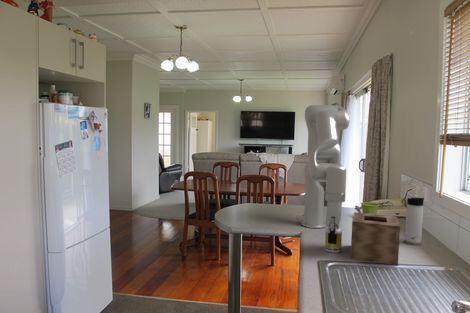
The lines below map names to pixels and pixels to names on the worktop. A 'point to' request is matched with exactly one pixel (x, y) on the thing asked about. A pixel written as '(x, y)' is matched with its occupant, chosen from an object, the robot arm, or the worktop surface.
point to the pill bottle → (333, 247)
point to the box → (375, 238)
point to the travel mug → (414, 221)
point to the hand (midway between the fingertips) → (333, 240)
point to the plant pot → (369, 207)
